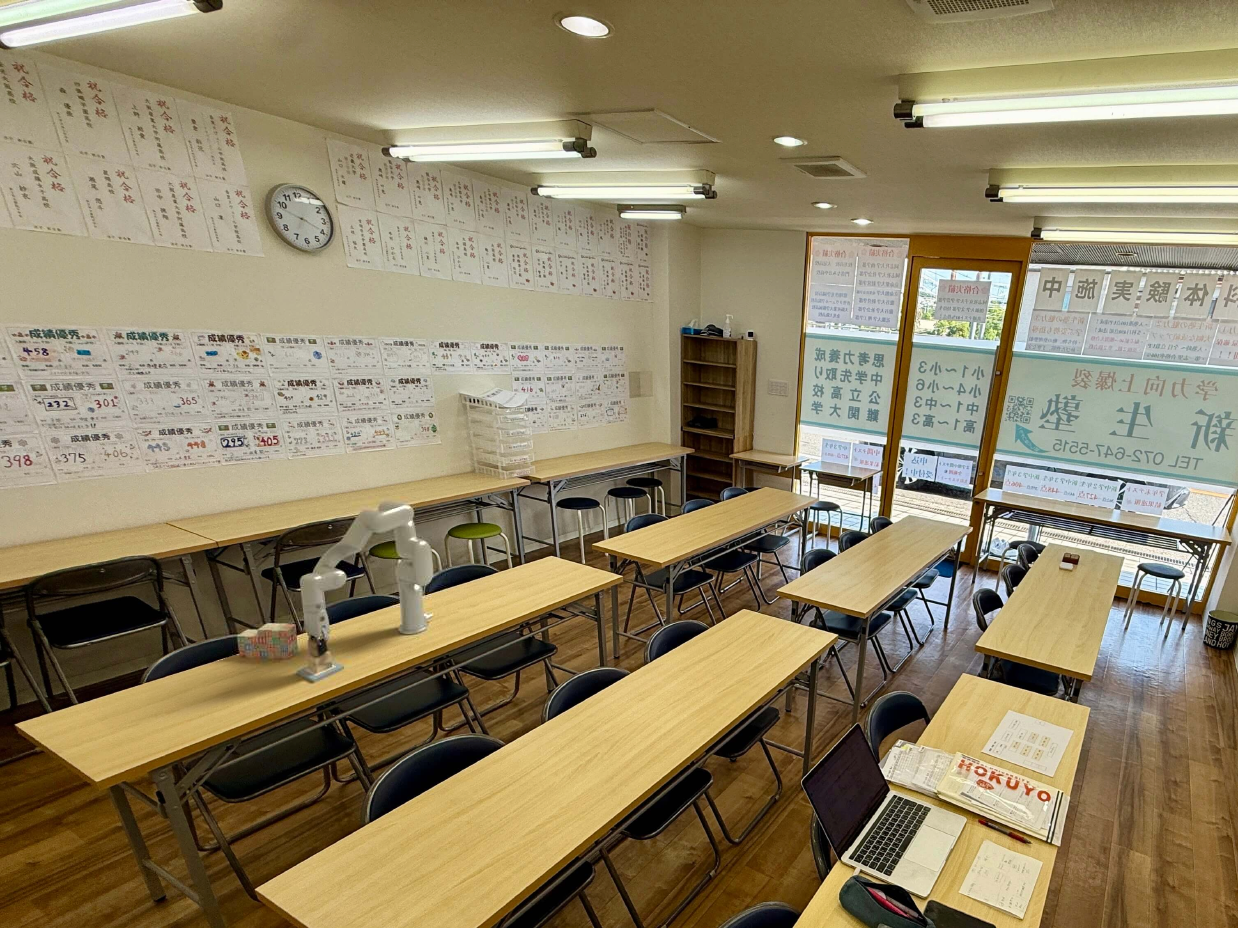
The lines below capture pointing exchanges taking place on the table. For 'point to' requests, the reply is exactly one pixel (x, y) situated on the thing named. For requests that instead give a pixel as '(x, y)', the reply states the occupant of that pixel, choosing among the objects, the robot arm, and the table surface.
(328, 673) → the base board
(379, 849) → the table surface
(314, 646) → the walnut cube
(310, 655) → the oak block
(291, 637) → the stack of blocks
